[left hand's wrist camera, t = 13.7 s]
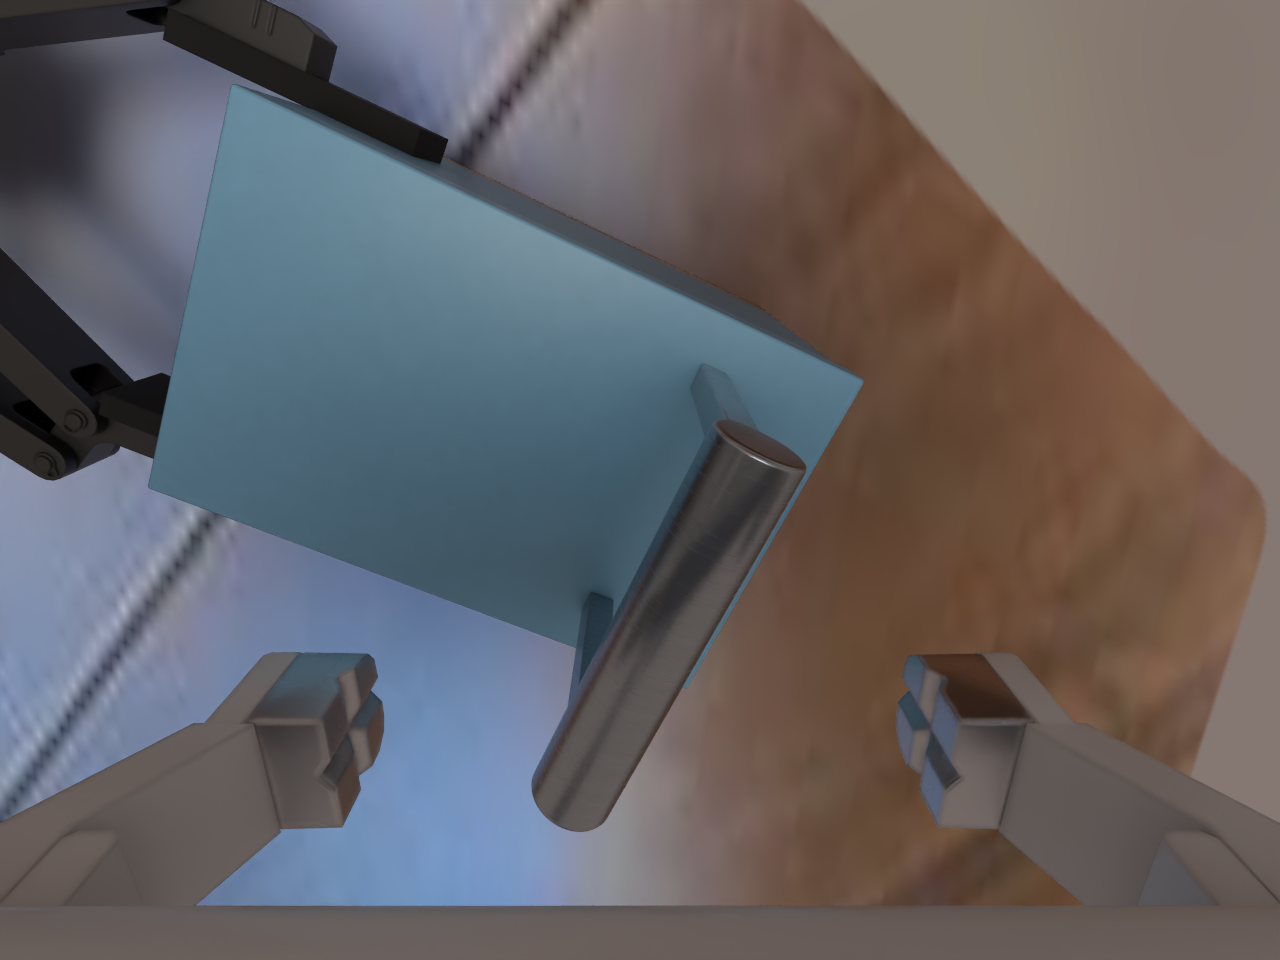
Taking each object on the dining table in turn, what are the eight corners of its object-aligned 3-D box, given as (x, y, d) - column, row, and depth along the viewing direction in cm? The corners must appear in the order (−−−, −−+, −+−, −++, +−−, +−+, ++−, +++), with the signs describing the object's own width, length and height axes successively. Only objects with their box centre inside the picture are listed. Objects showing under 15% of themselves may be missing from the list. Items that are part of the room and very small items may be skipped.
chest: (761, 308, 28) (833, 361, 18) (658, 512, 31) (668, 657, 21) (412, 141, 25) (262, 91, 15) (340, 380, 29) (177, 471, 19)
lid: (850, 370, 18) (1014, 488, 10) (683, 664, 21) (710, 924, 13) (260, 91, 15) (-118, -34, 8) (176, 471, 18) (-148, 650, 11)
